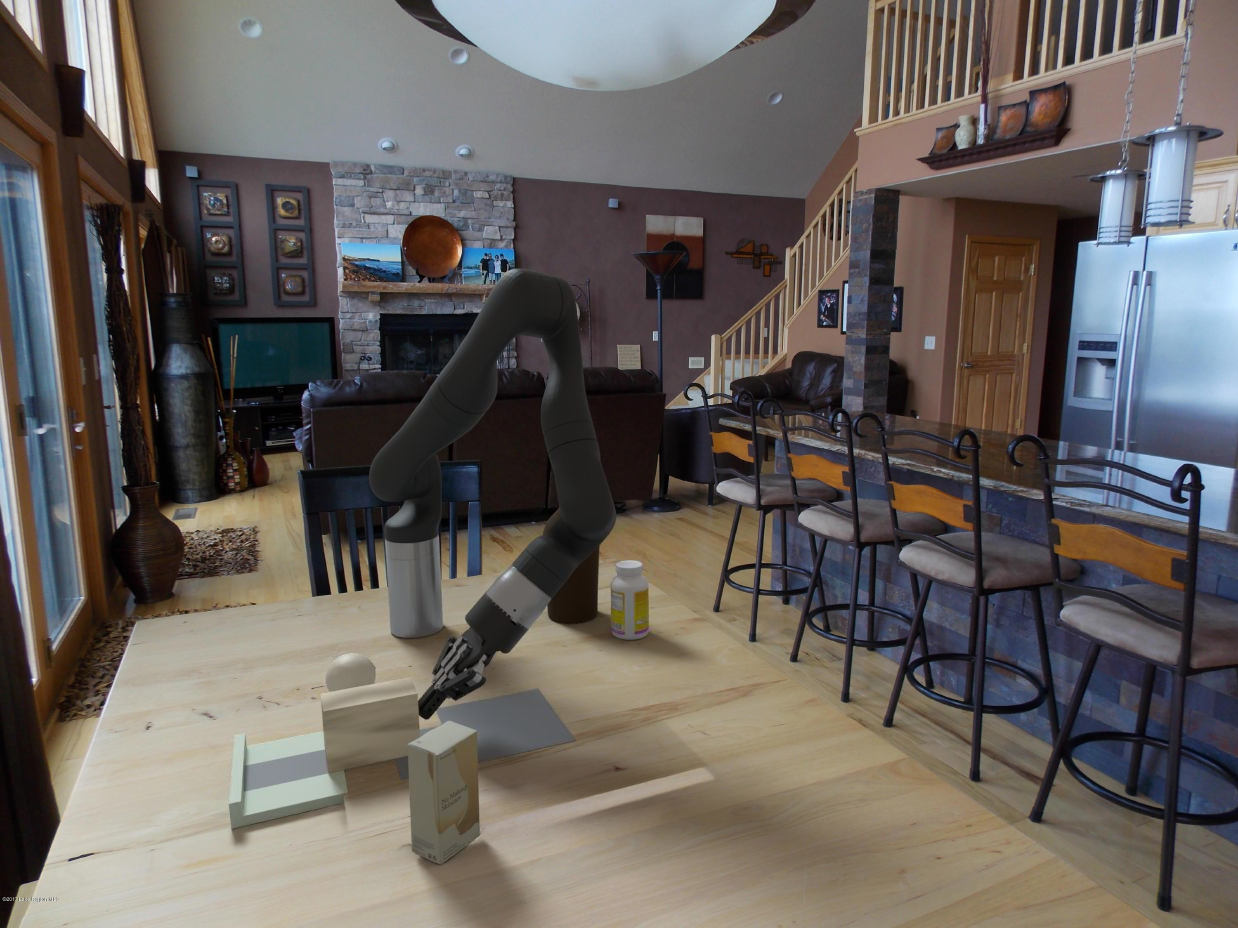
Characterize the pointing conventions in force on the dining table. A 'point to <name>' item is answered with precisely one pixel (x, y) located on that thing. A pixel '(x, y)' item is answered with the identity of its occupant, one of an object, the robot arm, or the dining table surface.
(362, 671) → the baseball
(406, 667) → the dining table surface
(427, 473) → the robot arm
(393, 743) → the birch block
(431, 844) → the skincare box
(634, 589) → the supplement bottle
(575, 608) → the olive oil
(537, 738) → the board
